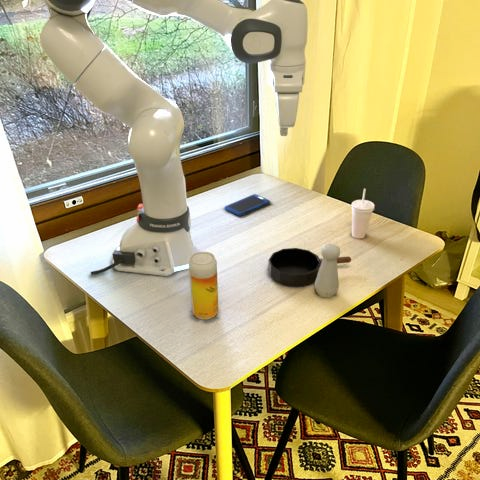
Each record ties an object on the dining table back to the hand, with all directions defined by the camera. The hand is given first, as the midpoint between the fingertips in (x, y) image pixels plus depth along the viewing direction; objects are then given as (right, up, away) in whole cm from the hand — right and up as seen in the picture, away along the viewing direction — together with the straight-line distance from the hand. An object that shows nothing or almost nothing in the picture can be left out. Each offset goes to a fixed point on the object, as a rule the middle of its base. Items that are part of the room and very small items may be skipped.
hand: (283, 134), depth 132 cm
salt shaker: (+10, -41, -5) cm, 42 cm away
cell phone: (-9, -11, +33) cm, 36 cm away
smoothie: (+23, -23, +18) cm, 37 cm away
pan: (+7, -35, +3) cm, 36 cm away
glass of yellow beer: (-19, -46, -11) cm, 51 cm away
